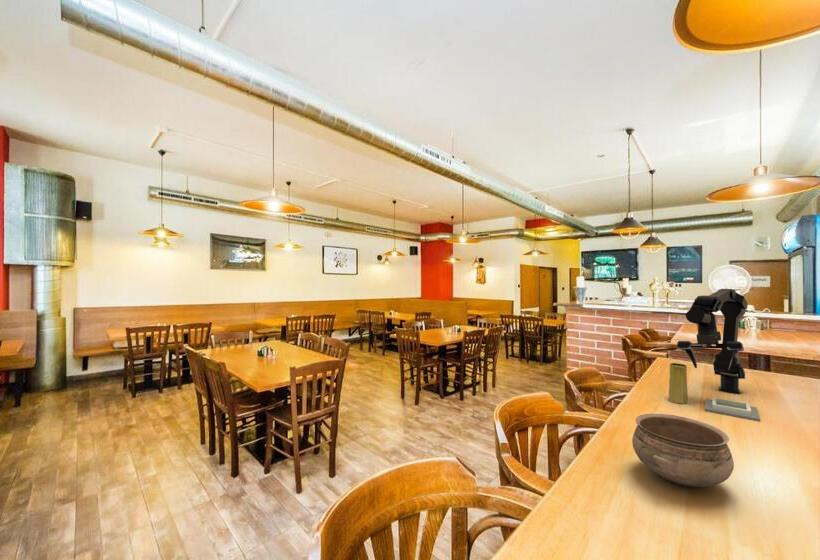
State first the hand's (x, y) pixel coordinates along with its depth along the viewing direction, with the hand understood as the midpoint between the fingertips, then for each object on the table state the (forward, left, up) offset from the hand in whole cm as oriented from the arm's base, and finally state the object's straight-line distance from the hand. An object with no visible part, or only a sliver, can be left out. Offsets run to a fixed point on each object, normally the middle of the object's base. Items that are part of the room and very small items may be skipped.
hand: (711, 369), depth 130 cm
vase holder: (+2, +5, -13) cm, 15 cm away
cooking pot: (+68, -5, -14) cm, 70 cm away
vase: (+3, -10, -14) cm, 17 cm away
